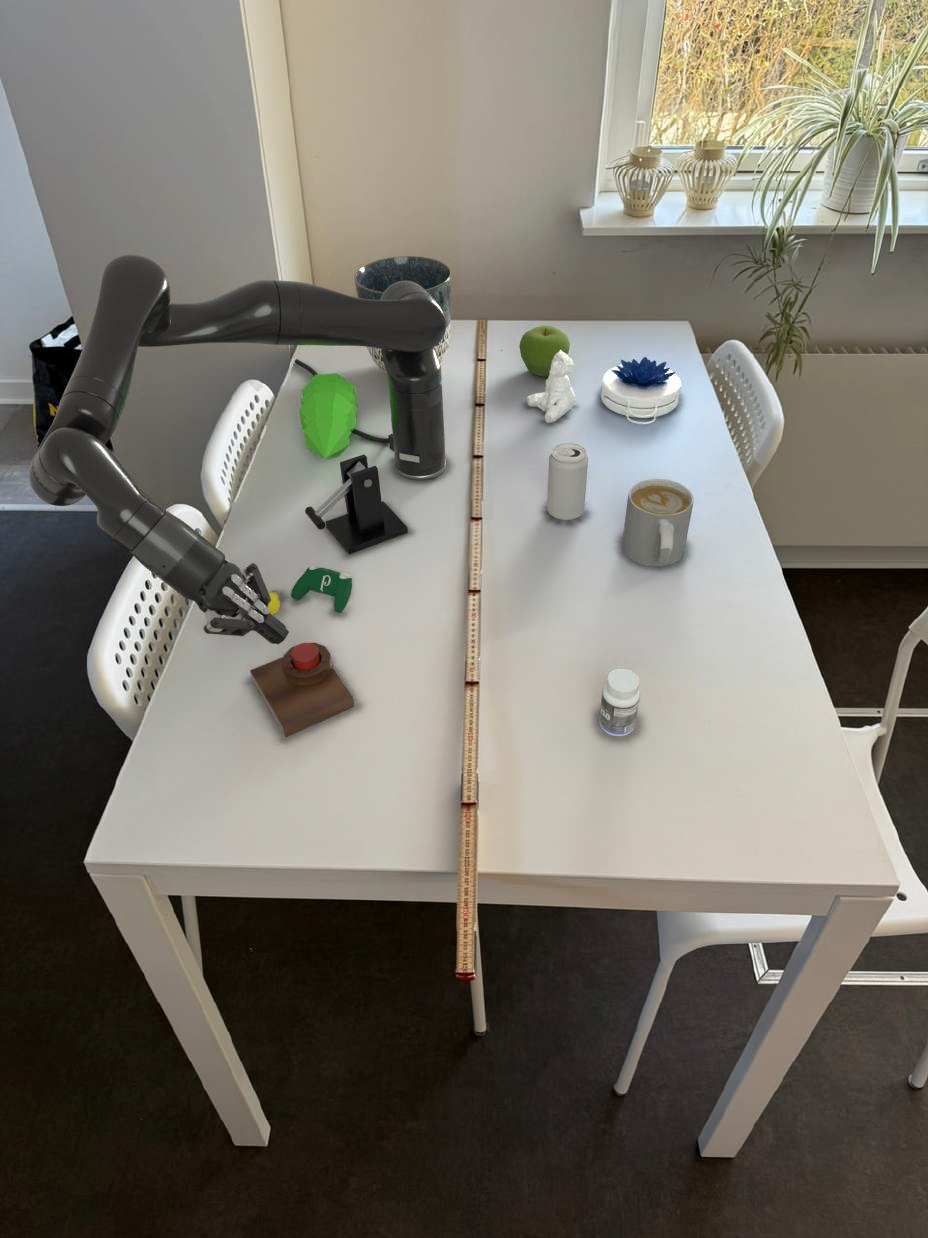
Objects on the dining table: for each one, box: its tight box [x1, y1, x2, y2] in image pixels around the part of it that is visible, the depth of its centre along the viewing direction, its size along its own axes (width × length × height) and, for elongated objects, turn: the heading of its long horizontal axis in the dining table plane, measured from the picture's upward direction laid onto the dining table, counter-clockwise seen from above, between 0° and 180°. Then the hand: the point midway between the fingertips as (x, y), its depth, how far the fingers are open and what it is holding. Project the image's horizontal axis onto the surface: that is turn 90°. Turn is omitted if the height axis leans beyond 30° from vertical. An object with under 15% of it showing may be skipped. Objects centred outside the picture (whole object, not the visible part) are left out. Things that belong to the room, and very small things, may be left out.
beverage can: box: [546, 442, 589, 521], centre depth 143 cm, size 6×6×12 cm
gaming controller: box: [290, 563, 353, 614], centre depth 132 cm, size 9×4×6 cm
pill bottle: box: [598, 668, 641, 737], centre depth 110 cm, size 5×5×8 cm
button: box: [291, 642, 320, 670], centre depth 117 cm, size 4×4×2 cm
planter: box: [353, 255, 453, 374], centre depth 179 cm, size 20×20×21 cm
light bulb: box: [268, 589, 281, 616], centre depth 130 cm, size 3×6×4 cm, turn 175°
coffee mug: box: [621, 478, 694, 568], centre depth 135 cm, size 13×10×10 cm
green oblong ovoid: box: [298, 372, 358, 460], centre depth 162 cm, size 11×12×30 cm
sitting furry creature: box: [526, 350, 577, 424], centre depth 169 cm, size 10×9×12 cm
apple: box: [519, 325, 571, 378], centre depth 182 cm, size 11×10×10 cm
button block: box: [249, 642, 355, 738], centre depth 117 cm, size 12×10×4 cm
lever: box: [304, 462, 366, 530], centre depth 138 cm, size 12×5×2 cm
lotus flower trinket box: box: [600, 356, 682, 425], centre depth 172 cm, size 7×16×20 cm
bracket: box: [325, 454, 409, 555], centre depth 141 cm, size 11×9×13 cm
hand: (283, 638), depth 115 cm, fingers closed
